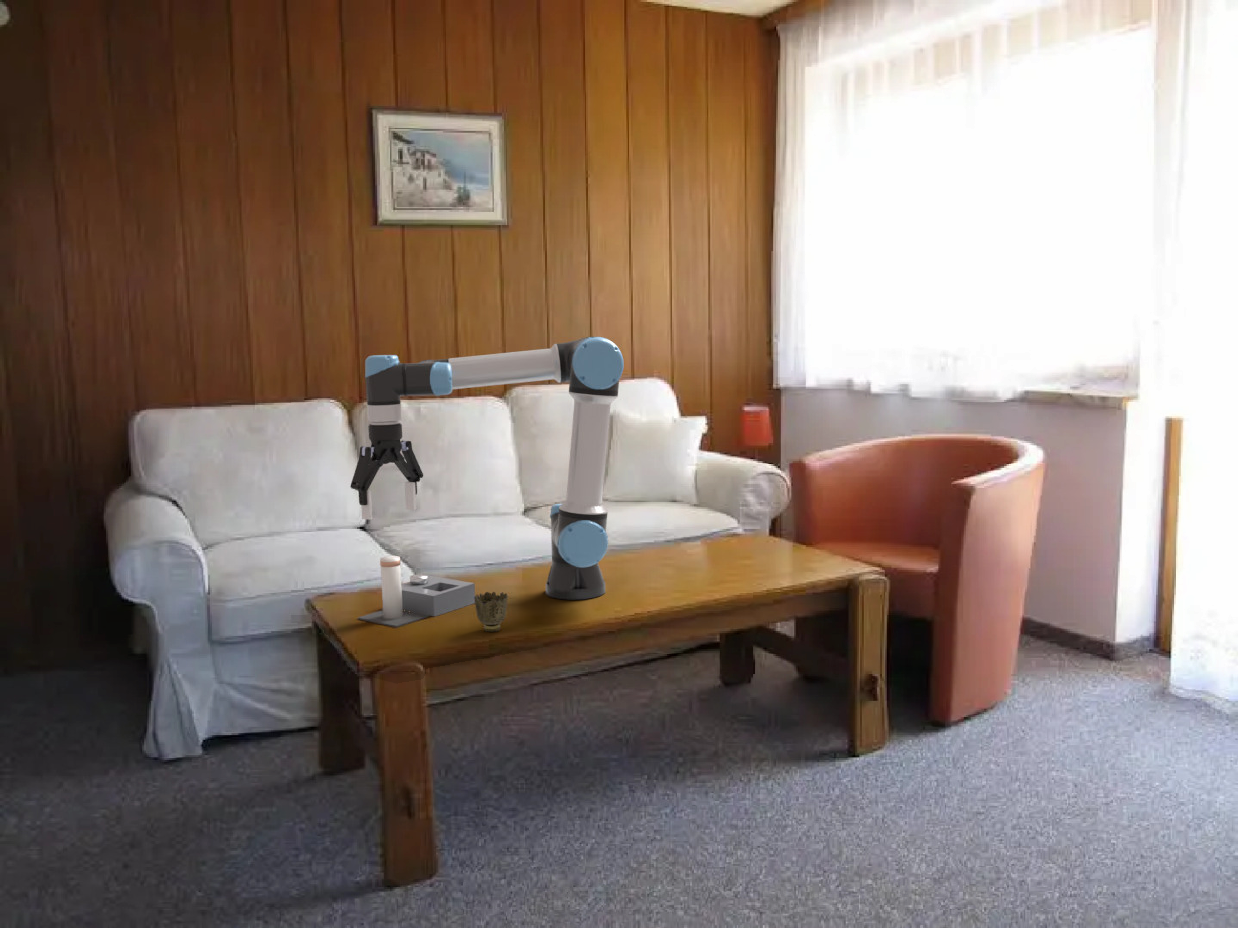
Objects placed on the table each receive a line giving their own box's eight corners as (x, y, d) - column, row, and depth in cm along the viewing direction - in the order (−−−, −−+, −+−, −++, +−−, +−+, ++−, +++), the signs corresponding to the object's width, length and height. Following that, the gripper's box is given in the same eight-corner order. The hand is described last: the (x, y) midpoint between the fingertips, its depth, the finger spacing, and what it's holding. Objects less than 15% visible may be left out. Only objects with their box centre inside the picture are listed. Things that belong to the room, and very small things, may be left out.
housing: (475, 603, 259) (474, 583, 259) (434, 616, 248) (433, 596, 247) (431, 594, 268) (430, 575, 267) (390, 607, 257) (389, 587, 256)
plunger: (432, 599, 261) (431, 575, 260) (419, 603, 258) (418, 579, 257) (420, 596, 264) (418, 573, 263) (407, 600, 260) (405, 577, 259)
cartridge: (407, 615, 248) (404, 557, 246) (392, 620, 244) (389, 561, 242) (393, 612, 251) (390, 555, 249) (379, 617, 247) (375, 558, 245)
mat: (428, 617, 248) (428, 615, 248) (396, 627, 240) (396, 625, 240) (390, 609, 255) (390, 607, 255) (358, 619, 247) (357, 617, 247)
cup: (469, 633, 234) (467, 598, 233) (485, 624, 241) (483, 590, 240) (499, 636, 232) (498, 601, 231) (514, 627, 239) (513, 592, 237)
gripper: (413, 417, 254) (417, 504, 257) (330, 427, 234) (336, 521, 237) (435, 418, 250) (439, 506, 253) (353, 428, 229) (359, 524, 232)
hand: (389, 514), depth 245 cm, fingers open, 13 cm apart
